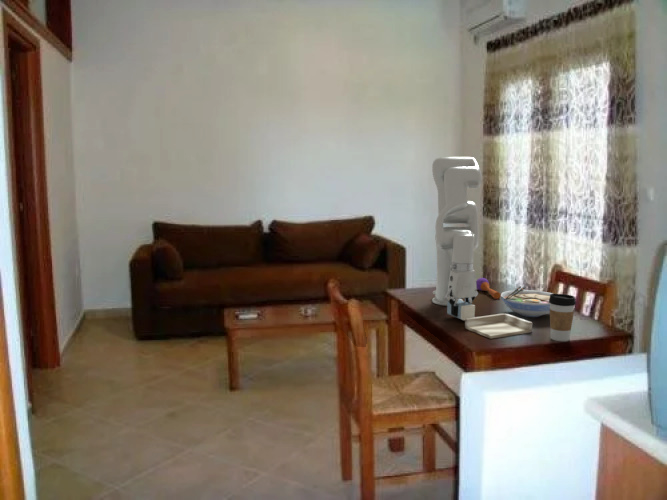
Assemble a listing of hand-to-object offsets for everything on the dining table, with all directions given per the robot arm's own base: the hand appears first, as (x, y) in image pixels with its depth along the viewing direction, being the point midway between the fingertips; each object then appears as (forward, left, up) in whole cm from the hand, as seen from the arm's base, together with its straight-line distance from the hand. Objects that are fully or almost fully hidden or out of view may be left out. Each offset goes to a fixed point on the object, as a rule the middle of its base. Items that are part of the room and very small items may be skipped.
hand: (460, 314), depth 231 cm
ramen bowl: (+6, +29, -3) cm, 29 cm away
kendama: (-30, +37, -3) cm, 48 cm away
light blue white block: (0, 0, -1) cm, 1 cm away
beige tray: (+17, +4, -2) cm, 17 cm away
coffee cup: (+34, +16, -2) cm, 37 cm away
